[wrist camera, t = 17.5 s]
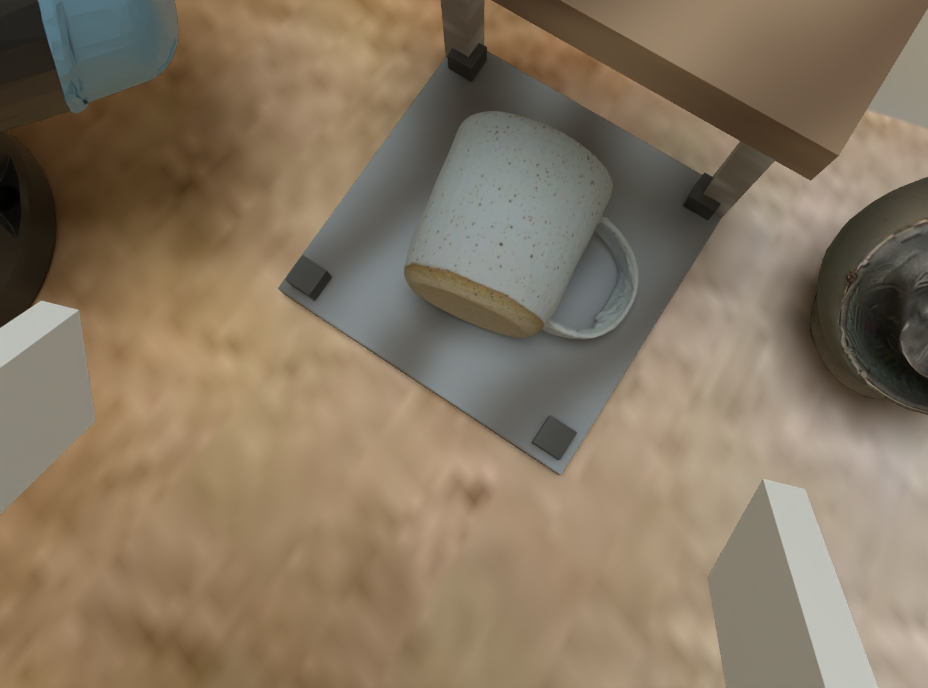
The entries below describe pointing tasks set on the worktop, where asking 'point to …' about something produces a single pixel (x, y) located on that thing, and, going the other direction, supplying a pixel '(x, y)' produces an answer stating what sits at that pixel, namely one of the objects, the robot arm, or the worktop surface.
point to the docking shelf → (633, 195)
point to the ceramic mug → (516, 229)
